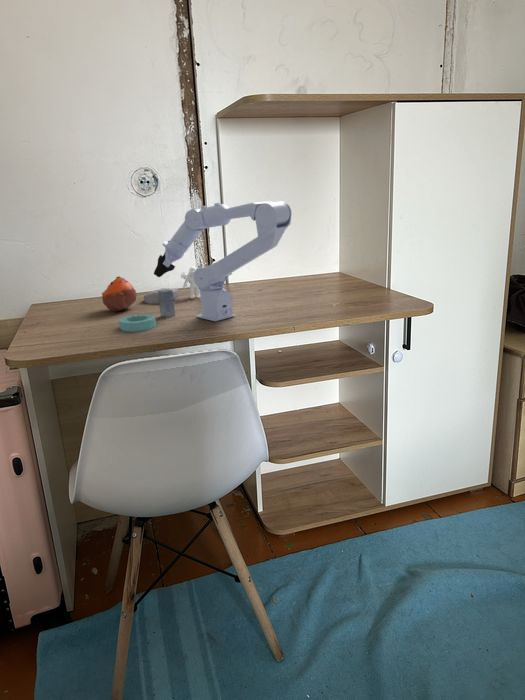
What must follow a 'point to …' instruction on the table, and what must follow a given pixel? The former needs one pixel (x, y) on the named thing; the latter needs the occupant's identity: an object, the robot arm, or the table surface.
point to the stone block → (154, 298)
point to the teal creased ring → (137, 322)
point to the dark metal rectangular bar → (166, 303)
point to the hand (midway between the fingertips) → (160, 268)
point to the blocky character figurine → (191, 281)
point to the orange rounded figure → (119, 295)
